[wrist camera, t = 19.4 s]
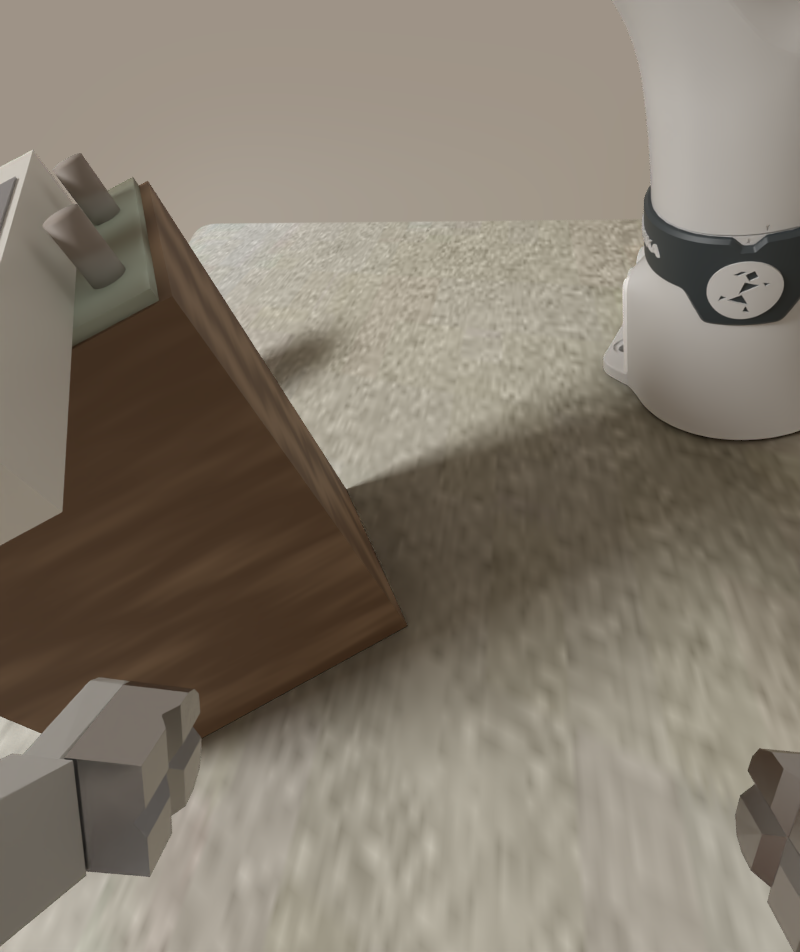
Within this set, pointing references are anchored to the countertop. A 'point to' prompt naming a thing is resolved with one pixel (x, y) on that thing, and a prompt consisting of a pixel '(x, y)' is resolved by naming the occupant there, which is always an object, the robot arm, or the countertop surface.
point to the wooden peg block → (177, 496)
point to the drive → (32, 347)
